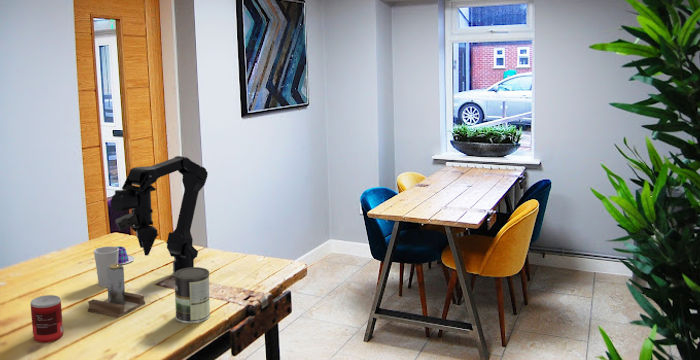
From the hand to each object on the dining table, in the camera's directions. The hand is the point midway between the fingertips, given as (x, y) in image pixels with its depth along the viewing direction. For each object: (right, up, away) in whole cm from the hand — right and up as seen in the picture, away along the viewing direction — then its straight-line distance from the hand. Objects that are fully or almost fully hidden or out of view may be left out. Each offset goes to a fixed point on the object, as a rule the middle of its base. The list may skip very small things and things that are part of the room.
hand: (144, 251), depth 222 cm
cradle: (-4, -16, -14) cm, 22 cm away
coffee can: (+21, -18, -20) cm, 34 cm away
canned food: (-16, -20, -35) cm, 44 cm away
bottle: (-4, -15, -14) cm, 21 cm away
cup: (-14, -12, +7) cm, 20 cm away
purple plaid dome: (-19, -7, +31) cm, 37 cm away
